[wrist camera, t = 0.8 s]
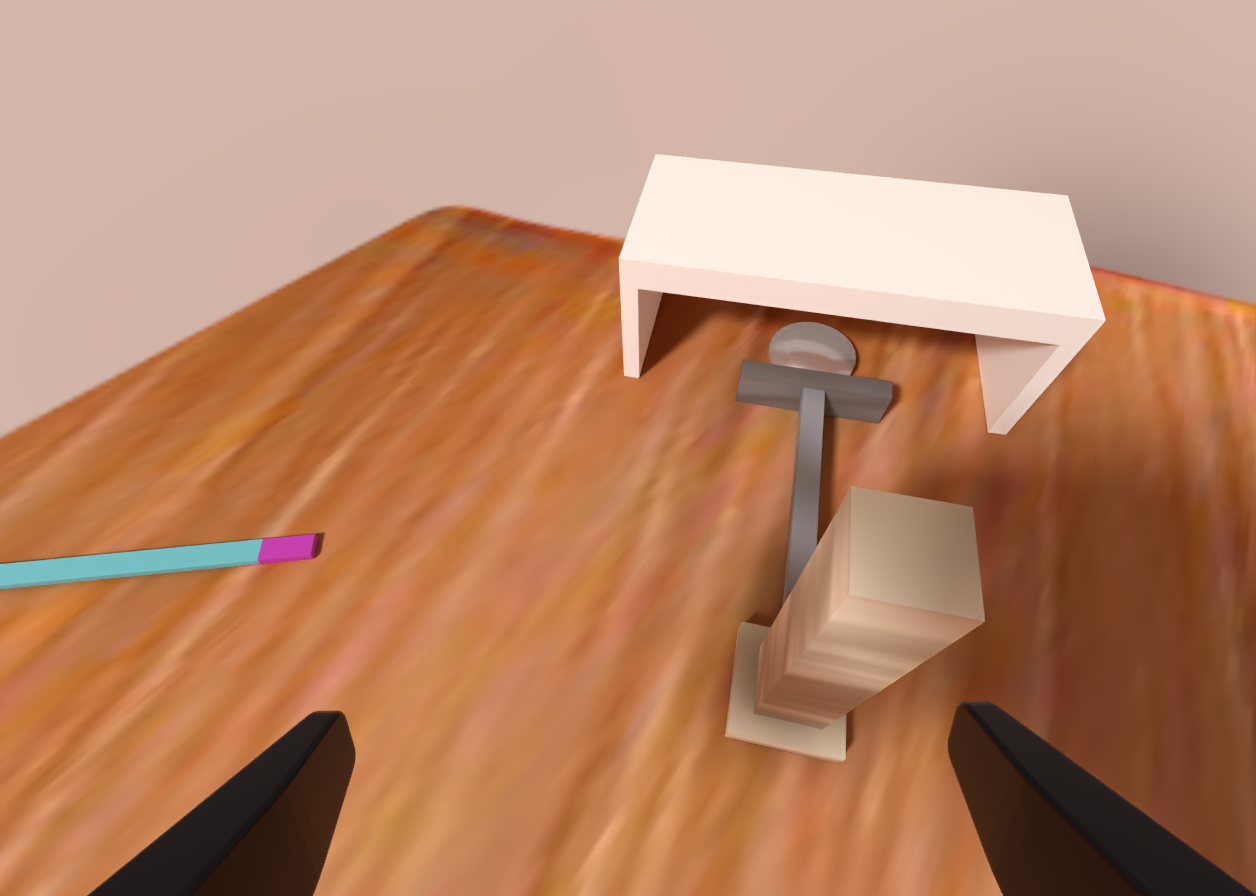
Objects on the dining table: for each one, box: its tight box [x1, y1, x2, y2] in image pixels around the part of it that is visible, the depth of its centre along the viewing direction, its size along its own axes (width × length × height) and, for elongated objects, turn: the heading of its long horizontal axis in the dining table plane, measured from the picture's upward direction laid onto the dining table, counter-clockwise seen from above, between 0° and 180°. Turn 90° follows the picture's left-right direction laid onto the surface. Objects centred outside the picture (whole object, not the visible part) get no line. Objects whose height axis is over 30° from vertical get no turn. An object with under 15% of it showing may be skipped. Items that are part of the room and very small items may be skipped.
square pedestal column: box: [725, 360, 985, 764], centre depth 20 cm, size 16×7×13 cm, turn 167°
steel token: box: [767, 322, 856, 375], centre depth 31 cm, size 4×4×1 cm
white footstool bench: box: [619, 154, 1106, 435], centre depth 29 cm, size 8×19×8 cm, turn 77°
